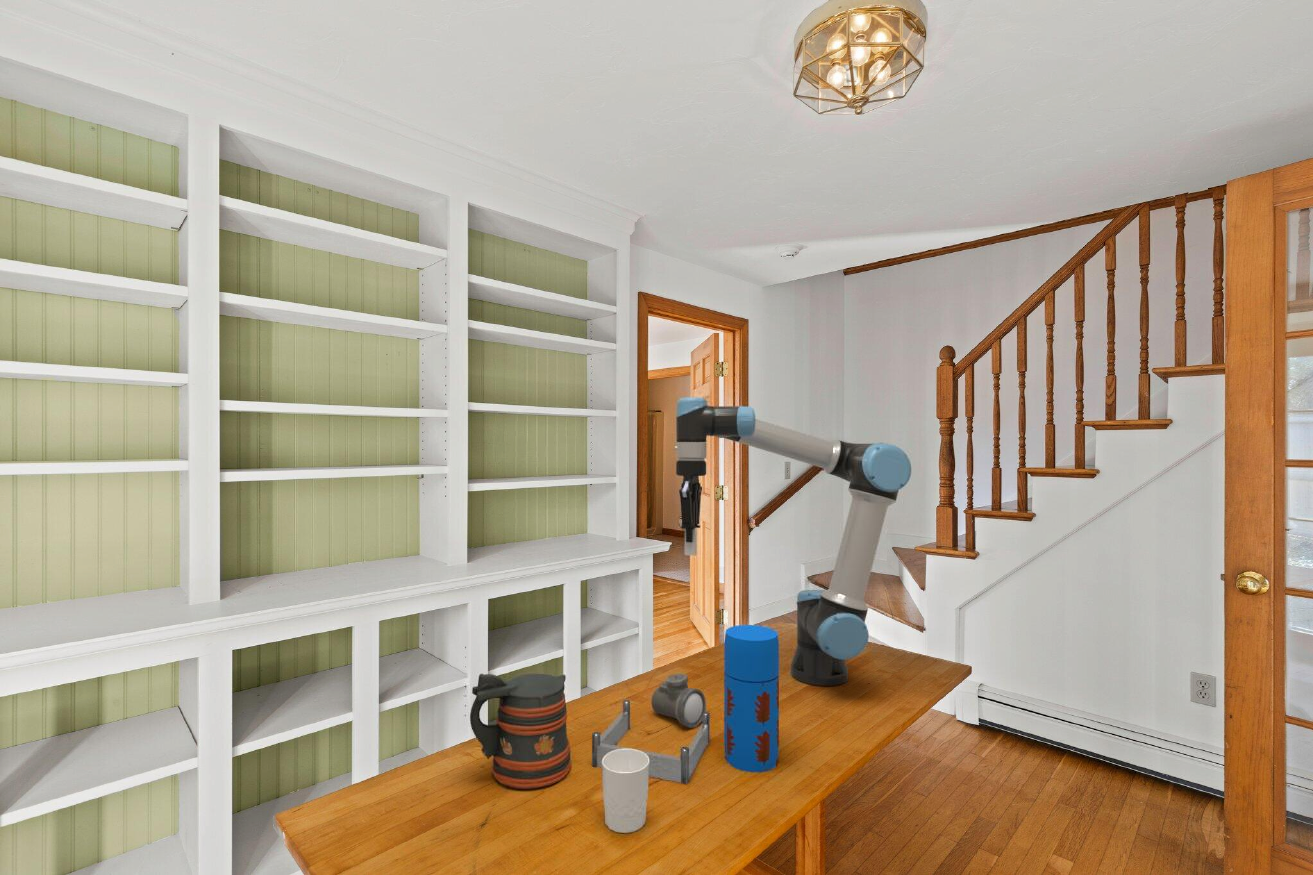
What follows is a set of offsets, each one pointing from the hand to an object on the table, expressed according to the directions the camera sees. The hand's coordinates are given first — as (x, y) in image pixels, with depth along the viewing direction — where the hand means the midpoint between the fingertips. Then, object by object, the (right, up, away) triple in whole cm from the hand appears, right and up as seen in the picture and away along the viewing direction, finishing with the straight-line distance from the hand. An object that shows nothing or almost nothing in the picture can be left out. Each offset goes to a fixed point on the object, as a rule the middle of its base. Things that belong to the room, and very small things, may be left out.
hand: (690, 554), depth 150 cm
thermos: (+10, -35, -29) cm, 47 cm away
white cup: (-14, -35, -50) cm, 62 cm away
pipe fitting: (-4, -36, -12) cm, 38 cm away
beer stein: (-34, -35, -35) cm, 60 cm away
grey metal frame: (-9, -35, -27) cm, 45 cm away
